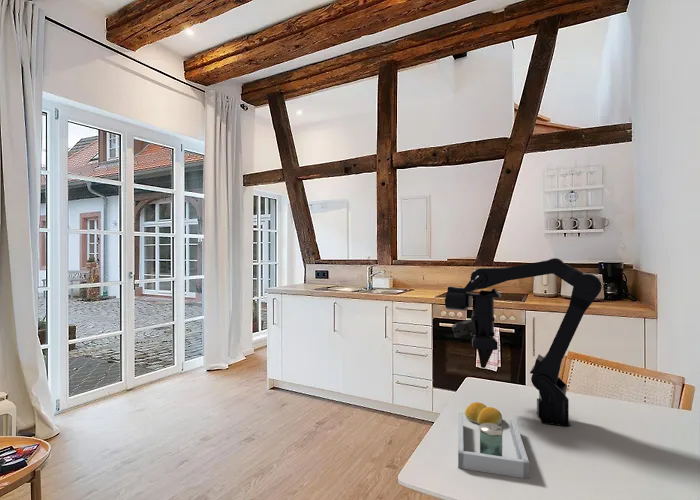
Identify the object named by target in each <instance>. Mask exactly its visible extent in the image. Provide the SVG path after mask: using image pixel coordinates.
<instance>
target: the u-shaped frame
mask: <svg viewBox="0 0 700 500" xmlns="http://www.w3.org/2000/svg"><path fill="white" fill-rule="evenodd" d="M509 422H510V423H509V424H510V427H509V428H510V429H509V430H510V431H509V432H510V435H511V438H512V442H513V446H514V448H515V449H514V450H515V452H516V456H517V458H514V457H508V456H503V455H502V456H495V455H488V454H481V453H480V452H475V451H467V450H464V413H462V412H459V413H458V437H457V439H458V440H457V441H458V442H457V443H458V444H457V445H458V446H457V447H458V448H457V449H458V450H457V456H458V457H457V458H458V459H457V461H458V462H457V463H458V465H457V466H458V467H457V468H459V469H465V470H471V471H477V472H483V473H489V474H497V475H500V476H501V475H502V476H503V475H504V476H508V477H515V478H522V479H527V480H529V479H530V461H529V458H528V455H527V451H526V449H525V446H524V443H523V440H522V437H521V434H520V430H519V429H518V424H517V422H516V419H513V418H510V420H509Z"/></svg>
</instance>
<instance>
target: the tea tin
mask: <svg viewBox="0 0 700 500" xmlns="http://www.w3.org/2000/svg"><path fill="white" fill-rule="evenodd" d="M503 432H504V429H503V428H502V427H501V426H500V425H496V424H492V423H483V424H481V425H479V453H481V454H488V455H495V456H502V457H503V434H504V433H503Z"/></svg>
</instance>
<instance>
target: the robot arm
mask: <svg viewBox="0 0 700 500" xmlns="http://www.w3.org/2000/svg"><path fill="white" fill-rule="evenodd" d="M551 274H552V275H554V276H557V278H559V279H561V280H562V281H564V282H565V283H567V284H569V286H571V287H572V291H571V296H570V300H569V304H568V307H567V310H566V312H565V314H564V316H563V318H562V321H561V323H560V325H559V327H558V330H557V332H556V334H555V336H554V338H553V340H552V343H551V344H550V347H549V349H548V351H547V352H546V354H545V355H544V356H543V355H541V354H538V355H537V357H536V359H535V362H534V365H533V366H532V368H531V370H530V371H529V373H530V374H531V378H530V379H531V383H532V385H533V387H534V388H535V389H536V390H538V398H537V399H536V415H537V417H538V418H539V419H540V422H541V423H542V424H546V425H554V426H555V425H556V426H564V427H572V425H571V424H572V423H570V421H569V416H570V414H569V408H570V407H569V406H570V405H569V404H570V403H569V398H568V396H567V390H568V385H567V384H566V383H565V382H564V381H563V379H561V378H560V377H559V376H560V372H561V367H562V363H563V359H564V357H565V355H566V353H567V351H568V348H569V346H570V344H571V341H572V340H573V339H574V336H575V333H576V331H577V329H578V327H579V324H580V322H581V321H582V319H583V316H584V314H585V312H586V311H587V310H588V309H589V308H590V306H591V305H592V303H594V301H595V300H596V298H597V296H599V294H600V293H601V291H602V287H603V285H602V282H601V280H600V278H599V276H597V275H595V274H593V273H590V272H588V273H587V272H586V273H584V272H582V271H580V270H579V269H576V268H575V267H573V266H571V265H569V264H567V263H565V262H564V261H563V260H562V259H560V258H557V257H555V258H554V257H553V258H549V259H548V260H543V261H538V262H537V261H536V262H531V263H525V264H520V265H514V266H509V267H481V268H476V269H474V270H473V272H471V274H470V280H469V281H468V283H467V284H466V285H465V286H464V287H456V286H447V291H446V294H445V298H444V306H445V309H446V310H452V311H464V312H467V311H468V309H469V308H472V314H471V315H470V316H471V317H470V319H467V320H464V321H460V322H455V324H452V325H451V329H452V331H453V335H454V337H455V338H456V339H457V338H461V337H462V336H465V335H469V334H470V337H472V339H471V346H472V349H473V350H475V349H476V350H477V353H478V359H479V363H480V364H479V366H480V368H482V369H485V368H486V366H487V364H488V362H489V361H490V357H491V356H492V354H493V352H494V351H497V350H498V341H497V339H496V338H495V316H494V315H495V311H494V310H495V304H494V303H495V298H501V297H502V296H503V295H502V293H500V292H499V290H497V288H496V287H495V288H493V289H492V290H484V289H487V288H491V287H493V286H496V285H499V284H503V283H505V282H508V281H514V280H519V279H521V280H522V279H525V278H526V279H527V278H533V277H539V276H540V277H541V276H544V275H545V276H547V275H551ZM478 290H480V291H479V293H478V292H477V293H476V292H475V291H478ZM474 292H475V293H474Z"/></svg>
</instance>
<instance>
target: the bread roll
mask: <svg viewBox="0 0 700 500" xmlns="http://www.w3.org/2000/svg"><path fill="white" fill-rule="evenodd" d="M464 415H465V417H466V419H467V420H468V421H470V422H472V423H474V424H478V425H479V426H480V425H481V424H483V423H492V424H496V425H498V426H500V425H501V424H502V421H503V415H502V412H501V411H500V410H499V409H497V408H495V407H491V406H487V405H486V404H484V403H482V402H478V401H475V402H471V404H469V405H468V406H466V408H465V409H464Z"/></svg>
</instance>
